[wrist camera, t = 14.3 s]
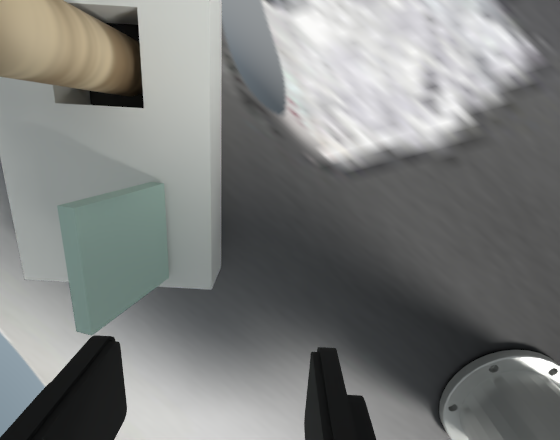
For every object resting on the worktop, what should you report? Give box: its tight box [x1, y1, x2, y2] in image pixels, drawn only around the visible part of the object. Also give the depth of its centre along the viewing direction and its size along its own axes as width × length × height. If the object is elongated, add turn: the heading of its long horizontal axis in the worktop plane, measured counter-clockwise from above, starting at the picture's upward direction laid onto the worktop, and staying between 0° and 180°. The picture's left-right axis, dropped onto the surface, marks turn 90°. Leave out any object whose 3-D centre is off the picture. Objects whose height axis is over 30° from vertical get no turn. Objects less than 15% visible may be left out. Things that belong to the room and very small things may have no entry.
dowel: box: [0, 0, 143, 97], centre depth 18 cm, size 4×4×12 cm
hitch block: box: [0, 0, 222, 290], centre depth 23 cm, size 14×20×4 cm
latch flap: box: [57, 182, 169, 335], centre depth 19 cm, size 7×7×1 cm
